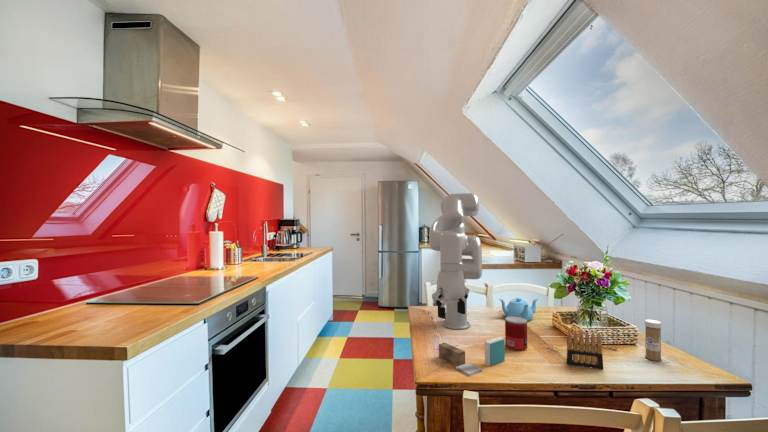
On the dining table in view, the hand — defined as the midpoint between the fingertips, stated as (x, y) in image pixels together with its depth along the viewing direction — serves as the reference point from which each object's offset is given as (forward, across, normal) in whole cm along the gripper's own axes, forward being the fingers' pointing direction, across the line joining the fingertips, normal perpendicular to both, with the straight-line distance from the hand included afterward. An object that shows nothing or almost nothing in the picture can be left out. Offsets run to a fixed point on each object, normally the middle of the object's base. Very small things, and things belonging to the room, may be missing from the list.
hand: (451, 315), depth 118 cm
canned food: (+16, -30, +5) cm, 35 cm away
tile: (+16, -12, +9) cm, 22 cm away
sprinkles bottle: (+16, -61, +39) cm, 74 cm away
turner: (+16, 0, +3) cm, 17 cm away
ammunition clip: (+17, -35, +28) cm, 48 cm away
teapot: (+16, -63, -16) cm, 67 cm away
